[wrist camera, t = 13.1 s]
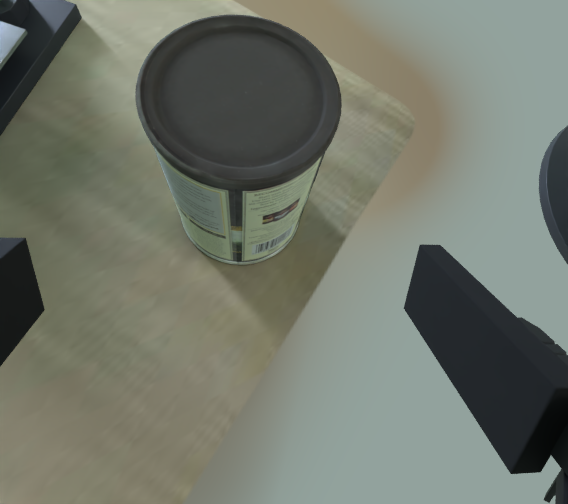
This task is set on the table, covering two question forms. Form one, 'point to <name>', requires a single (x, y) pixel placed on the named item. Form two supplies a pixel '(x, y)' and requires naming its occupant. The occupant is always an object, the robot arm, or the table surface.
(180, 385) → the table surface
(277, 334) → the table surface
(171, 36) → the coffee can
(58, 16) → the scale
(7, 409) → the table surface
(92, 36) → the table surface
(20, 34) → the pan
